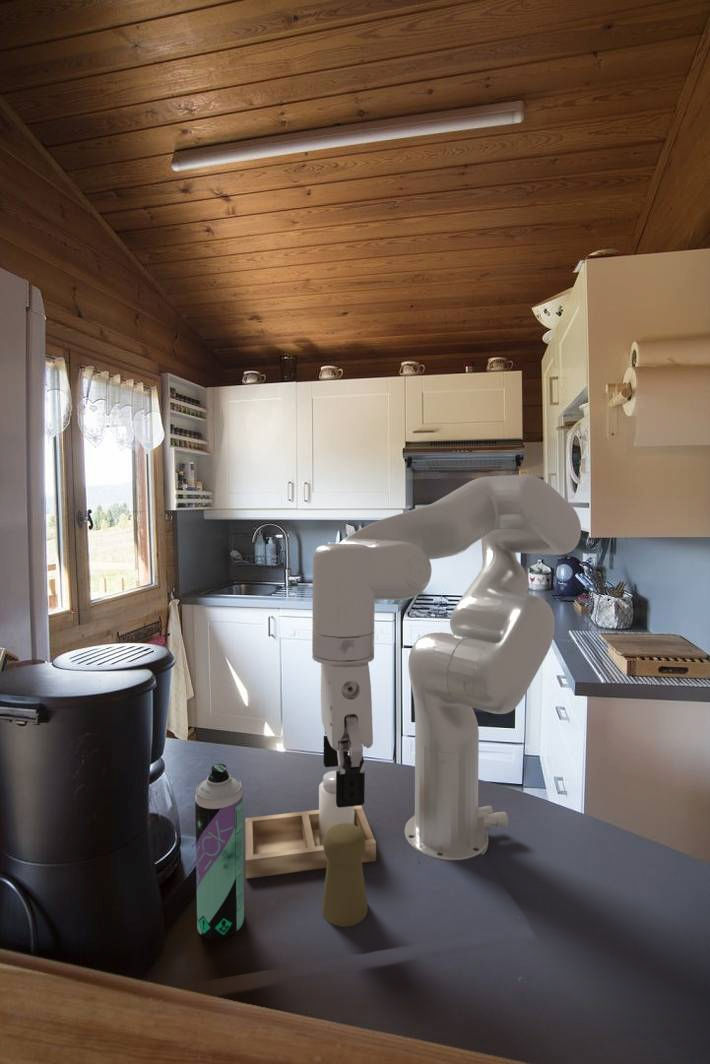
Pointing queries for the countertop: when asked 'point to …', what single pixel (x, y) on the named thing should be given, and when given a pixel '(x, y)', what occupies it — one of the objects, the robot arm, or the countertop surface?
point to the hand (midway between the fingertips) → (342, 783)
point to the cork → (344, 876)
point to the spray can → (219, 854)
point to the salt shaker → (331, 807)
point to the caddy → (293, 843)
